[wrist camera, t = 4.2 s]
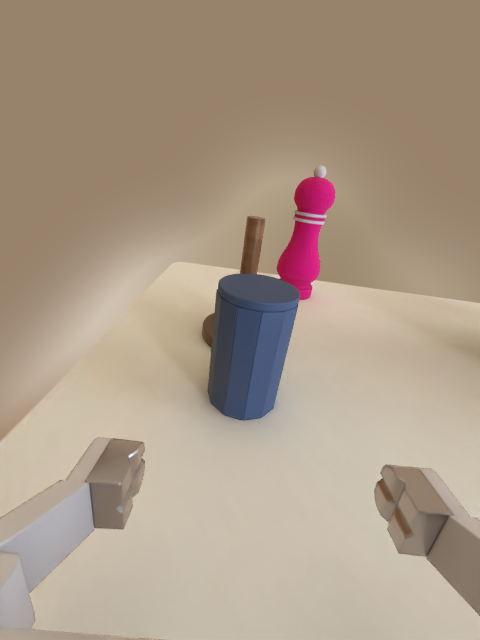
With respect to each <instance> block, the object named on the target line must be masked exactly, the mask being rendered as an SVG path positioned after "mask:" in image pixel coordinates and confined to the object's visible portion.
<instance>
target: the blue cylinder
mask: <svg viewBox="0 0 480 640" xmlns="http://www.w3.org/2000/svg"><path fill="white" fill-rule="evenodd" d="M299 298H300V292H299V291H298V289H297V288H296V287H294V286H293V285H291V284H289V283H287V282H285V281H283V280H280V279H277V278H273V277H269V276H264V275H258V274H233V275H228V276H225V277H223V278H222V279H221V280H220V281H219V284H218V289H217V293H216V304H215V315H214V327H213V338H212V349H211V360H210V371H209V383H208V394H209V398H210V402H211V404H212V405H213V406H214V407H216V408H217V409H218V410H219V411H220V412H221V413H222V414H224V415H226V416H230V417H233V418H237V419H240V420H248V419H255V418H261V417H263V416H264V415H265V414H266V413H268V412H269V411H270V410H271V409H273V407H274V402H275V398H276V394H277V390H278V386H279V382H280V378H281V374H282V370H283V366H284V361H285V357H286V353H287V349H288V345H289V341H290V337H291V333H292V329H293V325H294V320H295V316H296V312H297V308H298V302H299Z"/></svg>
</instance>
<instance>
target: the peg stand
mask: <svg viewBox="0 0 480 640" xmlns="http://www.w3.org/2000/svg"><path fill="white" fill-rule="evenodd" d="M264 225H265V218H261V217H255V216H248V217H247V225H246V232H245V239H244V247H243V255H242V263H241V270H240V274H257V270H258V263H259V257H260V251H261V244H262V238H263V231H264ZM214 315H215V313H213V314H211V315H209V316H208V317H207V318H206V319H205V320H204V322H203V331H202V334H203V338H204V340H205V341H206V342H207V343H208V344H209V345H210V346H211V347H212V338H213V327H214Z"/></svg>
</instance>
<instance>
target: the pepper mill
mask: <svg viewBox="0 0 480 640" xmlns="http://www.w3.org/2000/svg"><path fill="white" fill-rule="evenodd" d="M325 174H326V168H325V167H324V166H322V165H319V166H317V167H316V168H315V170H314V176H315V177H310V178H307V179H305V180H303V181H302V182H301V183H300V184H299V185H298V187H297V189H296V191H295V197H294V200H295V203H296V205H297V208H298V210H296V211H295V217H294V218H293V219H294V220H295V227H294V232H293V235H292V238H291V240H290V242H289V244H288V246H287V247H286V249H285V250H284V252H283V253H282V255H281V257H280V259H279V261H278V265H277V272H278V274H279V276H280V277H281V278H280V280H283V281H285V282H287V283H289V284H291V285H293V286H294V287H296V288H297V289H298V291H299V292H300V298H299V299H306V298H309V297H310V295H311V291H312V286H311V284H310V283H311V282H313V281H314V280H315V279H316V278H317V277H318V275H319V271H320V260H319V254H318V236H319V232H320V229H321V226H322V224H325V218H326V215H325V212H326V211H327V210H328V209H329V208H330V207H331V206H332V204H333V202H334V199H335V189H334V186H333V185H332V183H331V182H329V181H328V180H326V179H324V178H323V177H324V176H325Z"/></svg>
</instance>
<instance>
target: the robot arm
mask: <svg viewBox="0 0 480 640" xmlns="http://www.w3.org/2000/svg"><path fill="white" fill-rule="evenodd" d="M144 451H145V448H144V443H143V442H139V441H131V440H123V439H115V438H113V439H112V438H104V437H97V438H96V439H94V440H93V442H92V443H91V444H90V446H89V447H88V449H87V450H86V451H85V453H84V454H83V456H82V457H81V459H80V460H79V461H78V463H77V464H76V466H75V467H74V469H73V470H72V471H71V473H70V474H69V476H68V477H67V479H66V480H60V481H58V482H56V483H55V484H53V485H52V486H50V487H48V488H47V489H45V490H44V491H42V492H41V493H39V494H37V495H36V496H34V497H33V498H31V499H29V500H28V501H26V502H25V503H23V504H21V505H20V506H18V507H17V508H15V509H13V510H12V511H10V512H9V513H7V514H6V515H4V516H2V517H1V518H0V640H162V639H149V638H136V637H123V636H110V635H97V634H84V633H71V632H58V631H45V630H32V629H31V628H32V626H33V624H34V622H35V613H34V609H33V606H32V602H31V598H30V595H29V593H30V592H31V591H32V590H33V589H34V588H35V587H36V586H37V585H38V584H39V583H40V582H41V581H42V580H44V579H45V578H46V577H47V576H48V575H49V574H50V573H51V572H52V571H53V570H54V569H55V568H56V567H57V566H58V565H59V564H60V563H61V562H62V561H63V560H64V559H65V558H66V557H67V556H68V555H69V554H70V553H71V552H72V551H73V550H74V549H75V548H76V547H77V546H78V545H79V544H80V543H81V542H82V541H83V540H84V539H85V538H86V537H87V536H88V535H90V534H91V533H92V532H93V531H94V528H105V529H124V527H125V525H126V522H127V520H128V517H129V515H130V512H131V510H132V507H133V504H132V498H133V497H134V496H135V495H136V494H137V493H138V492H139V489H140V487H141V484H142V480H143V476H144V469H145V461H144V460H143V458H142V456H143V453H144ZM381 475H382V477H383V479H381V480H380V481H378V482H377V483H376V487H375V490H374V494H375V502H376V506H377V508H378V511H379V513H380V515H381V516H382V517H383V518H384V519H385V520H386V521H387V522H389V523H388V529H387V530H388V532H389V534H390V536H391V538H392V540H393V542H394V544H395V547H396V549H397V551H398V553H400V554H408V555H417V556H425V557H427V559H428V561H429V562H430V563H431V564H432V565H433V566H434V567H435V568H436V569H437V570H438V571H439V572H440V574H441V575H442V576H443V577H444V578H445V579H446V580H447V581H448V582H449V583H450V584H451V585H452V586H453V588H454V589H455V590H456V591H457V592H458V593H459V594H460V595H461V596H462V597H463V598H464V599H465V601H466V602H467V603H468V604H469V605H470V606H471V607H472V608H473V609H474V610H475V611H476V612H477V613H478V615H479V616H480V520H478V519H477V518H473V517H471V516H470V515H469V514H468V512H467V511H466V510H465V509H464V507H463V506H462V505H461V504H460V502H459V501H458V500H457V498H456V497H455V496H454V495H453V493H452V492H451V491H450V489H449V488H448V487H447V486H446V484H445V483H444V482H443V481H442V479H441V478H440V477H439V475H438V474H437V473H436V472H435V471H434V470H432V469H431V468H419V467H408V466H396V465H385V466H384V467H383V468H382V470H381Z"/></svg>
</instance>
